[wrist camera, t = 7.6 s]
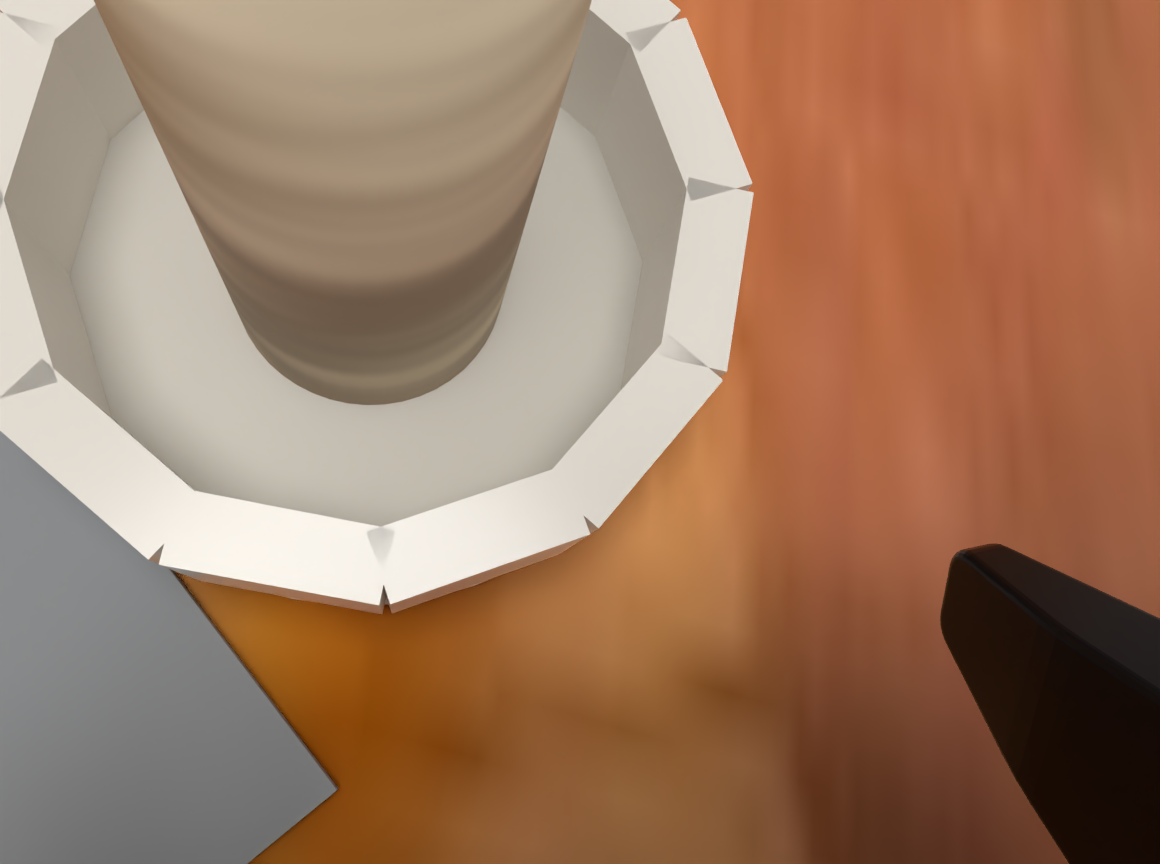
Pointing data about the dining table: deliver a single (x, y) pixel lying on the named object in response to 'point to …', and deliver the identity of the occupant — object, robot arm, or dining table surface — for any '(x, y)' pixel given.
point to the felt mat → (126, 703)
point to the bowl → (352, 431)
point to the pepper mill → (356, 167)
